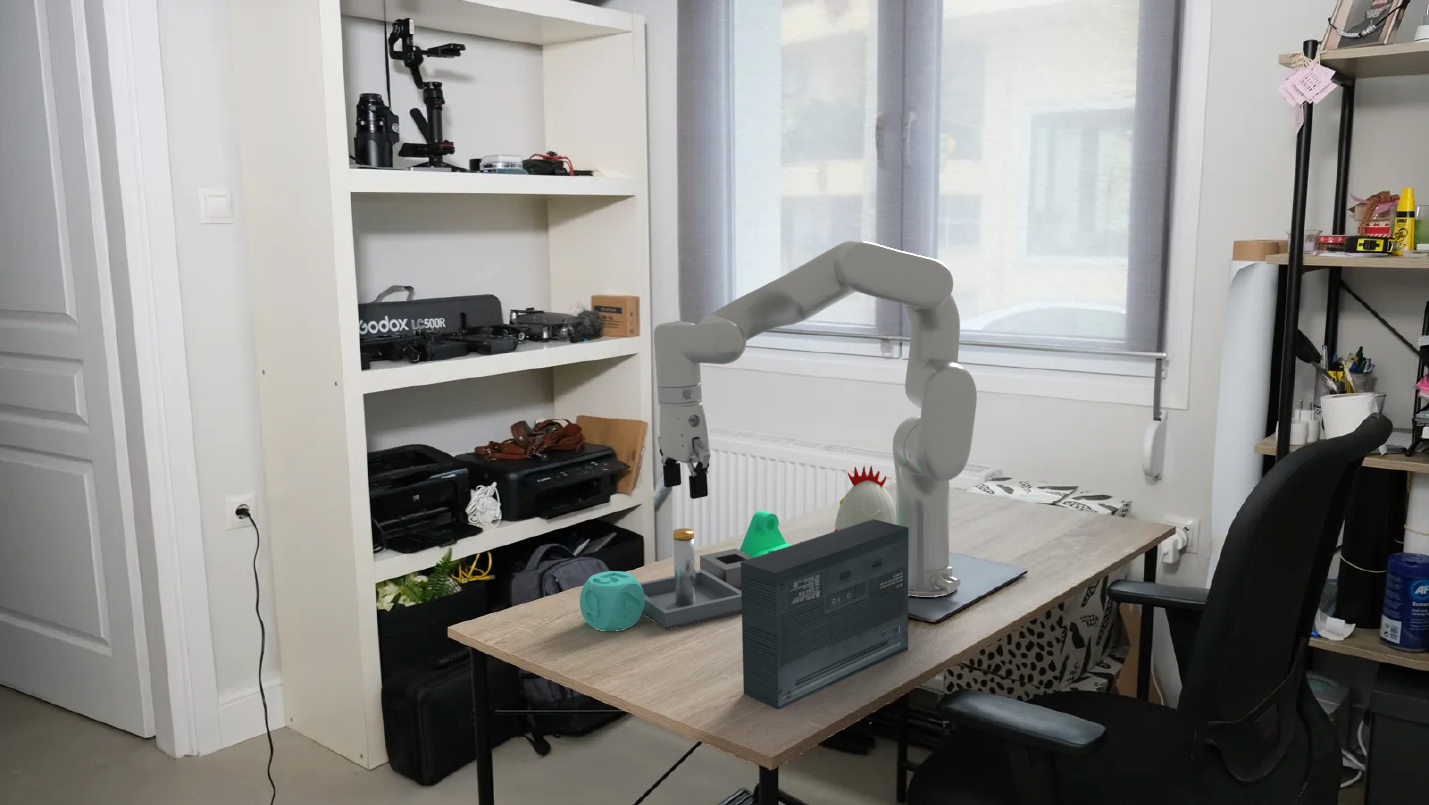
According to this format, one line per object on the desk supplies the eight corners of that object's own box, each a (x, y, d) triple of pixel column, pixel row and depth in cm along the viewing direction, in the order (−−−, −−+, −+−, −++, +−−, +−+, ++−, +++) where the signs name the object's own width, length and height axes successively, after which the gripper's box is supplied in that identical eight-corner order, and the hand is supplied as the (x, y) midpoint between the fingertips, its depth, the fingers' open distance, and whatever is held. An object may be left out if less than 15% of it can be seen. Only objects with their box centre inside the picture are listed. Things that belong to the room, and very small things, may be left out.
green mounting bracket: (765, 576, 205) (764, 524, 203) (738, 567, 211) (736, 517, 209) (808, 562, 213) (808, 512, 211) (781, 553, 218) (780, 504, 217)
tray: (747, 611, 187) (747, 594, 186) (665, 630, 179) (665, 613, 178) (703, 585, 200) (703, 569, 200) (625, 601, 193) (625, 586, 192)
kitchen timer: (834, 524, 237) (834, 458, 235) (897, 524, 236) (898, 458, 233) (835, 544, 224) (835, 473, 221) (902, 544, 222) (903, 473, 220)
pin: (699, 604, 189) (697, 532, 187) (681, 608, 187) (678, 535, 185) (690, 598, 192) (687, 527, 190) (672, 602, 190) (669, 530, 188)
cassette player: (873, 638, 174) (873, 519, 170) (907, 650, 169) (908, 527, 165) (743, 694, 155) (740, 561, 151) (778, 710, 150) (775, 573, 146)
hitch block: (763, 582, 201) (763, 562, 200) (726, 590, 197) (725, 570, 196) (736, 568, 210) (735, 548, 209) (700, 575, 206) (699, 555, 205)
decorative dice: (646, 621, 183) (644, 576, 182) (612, 636, 177) (610, 589, 176) (613, 611, 189) (611, 567, 187) (579, 625, 183) (577, 580, 181)
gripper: (723, 398, 177) (729, 498, 181) (675, 386, 192) (681, 478, 195) (683, 404, 174) (690, 506, 177) (638, 391, 189) (644, 485, 192)
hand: (685, 491), depth 186 cm, fingers open, 9 cm apart
